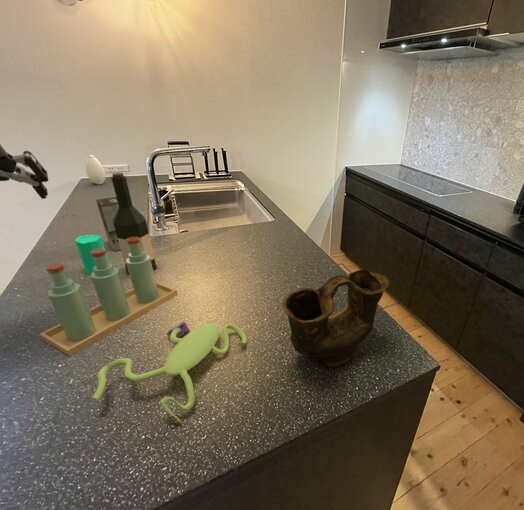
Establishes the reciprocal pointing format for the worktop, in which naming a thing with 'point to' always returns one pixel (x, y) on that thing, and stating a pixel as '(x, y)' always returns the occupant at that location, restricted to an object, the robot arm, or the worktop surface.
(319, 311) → the pottery vessel
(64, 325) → the loose bottle
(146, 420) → the worktop surface
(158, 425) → the worktop surface
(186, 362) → the figurine
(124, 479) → the worktop surface
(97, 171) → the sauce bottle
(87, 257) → the green polygonal prism
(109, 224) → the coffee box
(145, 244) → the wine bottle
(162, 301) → the tray
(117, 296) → the tray bottles
